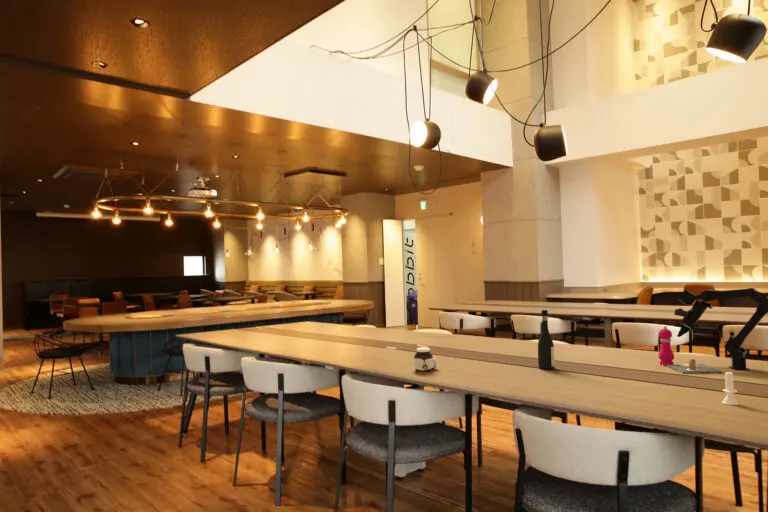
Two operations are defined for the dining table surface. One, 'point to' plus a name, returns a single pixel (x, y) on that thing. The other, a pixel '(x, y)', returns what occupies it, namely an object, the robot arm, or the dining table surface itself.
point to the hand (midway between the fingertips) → (678, 335)
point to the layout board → (700, 367)
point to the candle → (729, 389)
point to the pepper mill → (665, 347)
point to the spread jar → (424, 360)
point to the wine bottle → (545, 345)
